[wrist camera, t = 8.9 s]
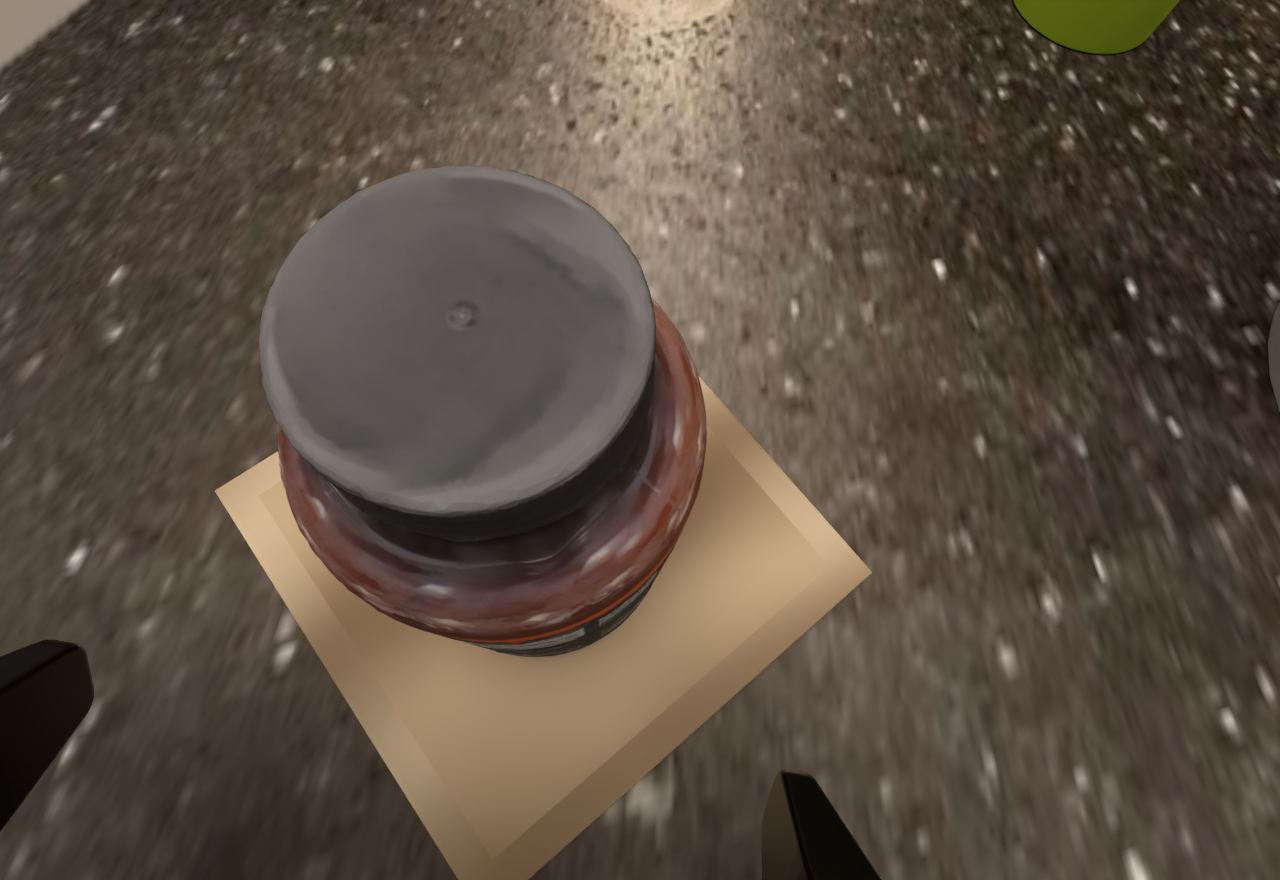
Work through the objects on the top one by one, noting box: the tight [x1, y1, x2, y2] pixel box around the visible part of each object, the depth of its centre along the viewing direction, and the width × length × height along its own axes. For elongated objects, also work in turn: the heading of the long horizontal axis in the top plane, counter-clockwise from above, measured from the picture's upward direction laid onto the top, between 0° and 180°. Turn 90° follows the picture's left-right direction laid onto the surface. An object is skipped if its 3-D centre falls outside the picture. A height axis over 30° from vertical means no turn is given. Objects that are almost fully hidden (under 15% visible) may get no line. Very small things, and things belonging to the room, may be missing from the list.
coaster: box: [215, 376, 872, 880], centre depth 18 cm, size 12×12×1 cm
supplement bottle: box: [259, 166, 707, 657], centre depth 12 cm, size 6×6×11 cm
